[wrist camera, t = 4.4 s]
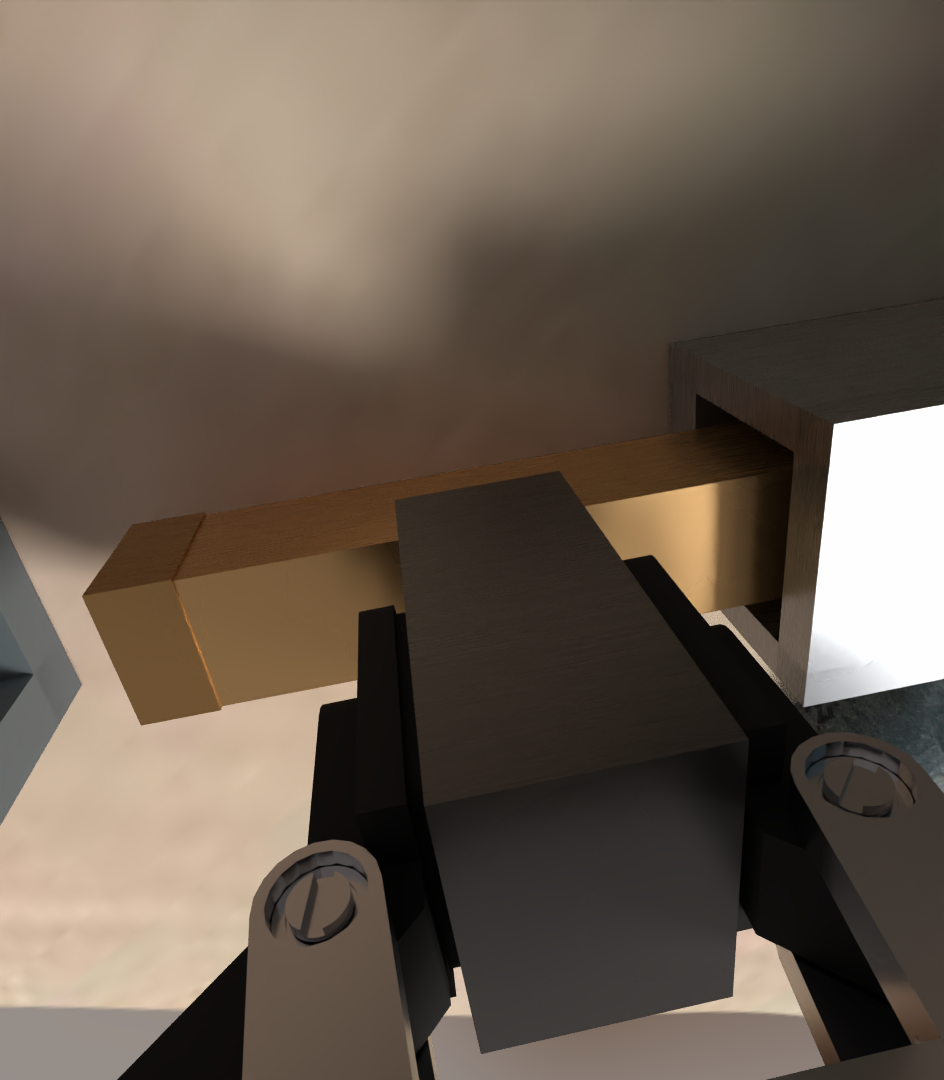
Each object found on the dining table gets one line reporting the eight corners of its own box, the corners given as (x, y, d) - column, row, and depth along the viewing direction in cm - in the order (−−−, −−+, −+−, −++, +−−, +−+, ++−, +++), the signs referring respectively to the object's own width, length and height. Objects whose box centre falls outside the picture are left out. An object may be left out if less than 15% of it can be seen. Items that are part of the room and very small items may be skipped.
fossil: (1072, 727, 25) (1186, 811, 22) (759, 902, 27) (818, 1005, 24) (1007, 529, 21) (1136, 595, 17) (639, 754, 23) (690, 854, 19)
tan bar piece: (123, 500, 14) (-226, 939, 6) (1121, 328, 16) (2004, 481, 7) (185, 658, 16) (-13, 1167, 8) (1075, 491, 17) (1735, 767, 9)
